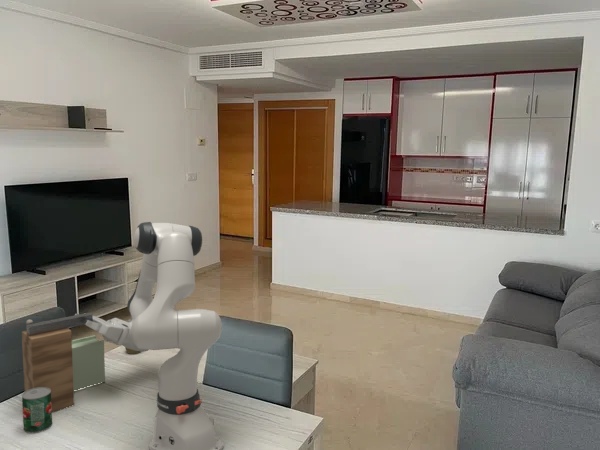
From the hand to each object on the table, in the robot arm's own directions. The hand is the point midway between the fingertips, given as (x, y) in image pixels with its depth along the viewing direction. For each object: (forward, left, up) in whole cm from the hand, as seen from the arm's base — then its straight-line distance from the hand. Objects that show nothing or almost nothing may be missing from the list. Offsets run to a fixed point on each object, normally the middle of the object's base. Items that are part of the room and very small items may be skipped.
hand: (80, 319), depth 166 cm
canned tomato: (-11, +18, -28) cm, 35 cm away
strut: (0, +6, -2) cm, 7 cm away
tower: (0, +11, -28) cm, 30 cm away
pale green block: (+9, -3, -28) cm, 29 cm away
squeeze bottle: (+26, -32, -28) cm, 50 cm away
